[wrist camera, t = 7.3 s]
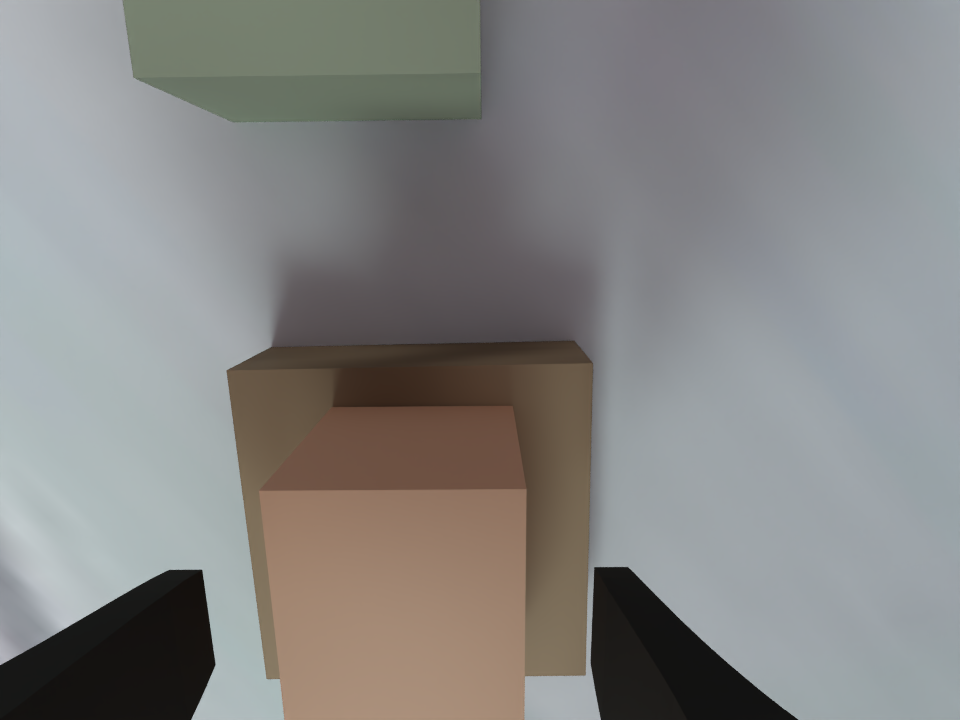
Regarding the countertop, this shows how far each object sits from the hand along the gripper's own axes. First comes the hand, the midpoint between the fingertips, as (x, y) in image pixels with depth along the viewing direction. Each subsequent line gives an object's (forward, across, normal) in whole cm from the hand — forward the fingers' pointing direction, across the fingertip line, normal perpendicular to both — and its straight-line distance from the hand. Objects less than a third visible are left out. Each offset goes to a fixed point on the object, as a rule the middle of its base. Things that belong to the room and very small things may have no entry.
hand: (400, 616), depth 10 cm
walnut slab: (+6, 0, 0) cm, 6 cm away
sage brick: (+6, +2, -12) cm, 13 cm away
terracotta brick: (+3, 0, 0) cm, 3 cm away
